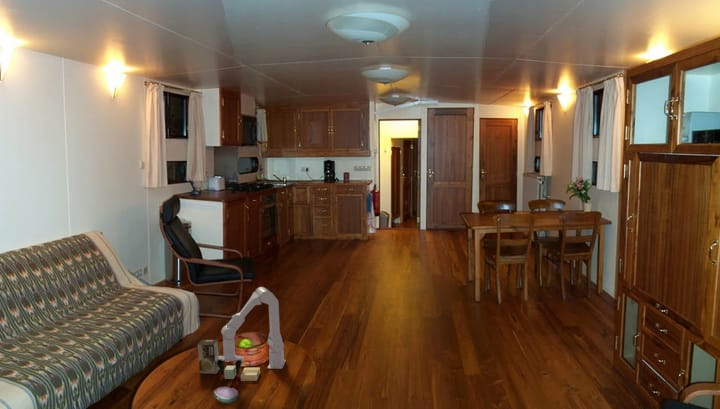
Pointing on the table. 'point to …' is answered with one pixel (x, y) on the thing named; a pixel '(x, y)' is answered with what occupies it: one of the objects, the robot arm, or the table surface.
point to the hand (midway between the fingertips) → (230, 374)
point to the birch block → (250, 374)
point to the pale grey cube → (230, 372)
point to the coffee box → (208, 356)
